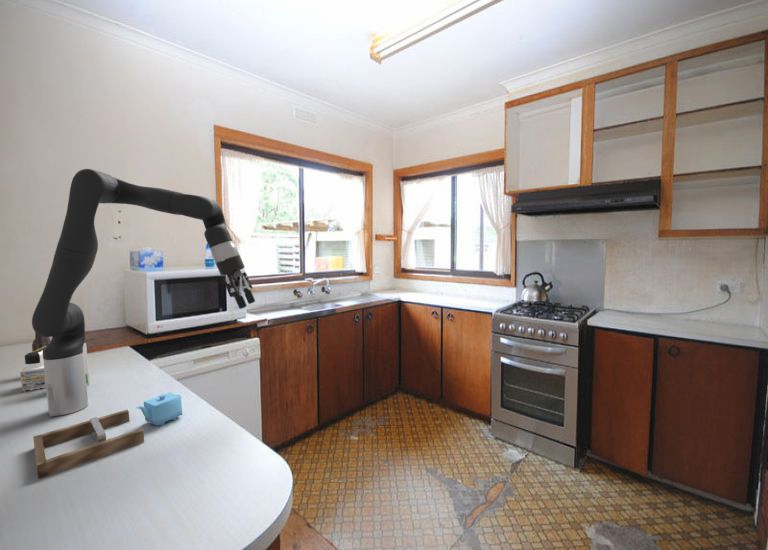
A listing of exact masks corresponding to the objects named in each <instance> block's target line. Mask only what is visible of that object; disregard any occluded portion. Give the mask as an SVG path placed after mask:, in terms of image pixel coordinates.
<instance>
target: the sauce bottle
mask: <svg viewBox="0 0 768 550" xmlns="http://www.w3.org/2000/svg"><path fill="white" fill-rule="evenodd" d="M34 336H35V337H34V339H33V341H32V343H31V352H34V351H42V350H44V348H45V347H46V346H48V345H49V343H50V342H51V340H52V339H50V337H42V336H40V335H38V334H37V333H36V332H35V331H34Z"/></svg>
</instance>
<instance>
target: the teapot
mask: <svg viewBox="0 0 768 550" xmlns="http://www.w3.org/2000/svg"><path fill="white" fill-rule="evenodd" d="M135 409H139V410H140V411H141V412H142V414H143V416H144V420H145V421H146V422H148V423H150V424H153V425H155V426H158V427H161V426H164V425H165V423H166V422H168V421H170V420H171V421H176V420H178V417H180V416H182V415H183V407H182V396H181V395H180V394H176V393H175V394H174V393H172V392H166V393H164V394H163V393H162V394H159V395H158V396H156V397H152V398H150V399H148V400H144V401H143V405H139V406H136V407H135Z"/></svg>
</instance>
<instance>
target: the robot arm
mask: <svg viewBox="0 0 768 550" xmlns="http://www.w3.org/2000/svg"><path fill="white" fill-rule="evenodd" d="M68 195H69V196H68V201H67V202H68V203H67V206H66V207H67V208H66V213H65V217H64V220H63V225H62V229H61V232H60V233H61V234H60V235H59V239H58V242H57V245H56V248H55V251H54V255H53V260H52V262H51V263H52V264H51V267H50V270H49V273H48V276H47V279H46V282H45V286H44V288H43V291H42V294H41V296H40V298H39V300H38V301H37V302H38V303H37V305H36V307H35V310H34V312H33V314H32V317H31V326H32V330H33V331H34V333H35V332H36V333H37V334H38V335H40V336H42V337H49V338H50V337H51V339H50V340H51V342H50V343H49V345H48V346H46V347H45V348H44V350H43V362H44V371H45V380H46V382H45V385H46V388H45V393H46V394H45V395H46V402H47V411H48V416H49V417H50V418H52V417H55V416H63V415H69V414H72V413H76V412H79V411H81V410H84V409H85V408H87V407H88V406H89V401H88V400H89V398H88V389H87V385H86V377H85V367H84V356H83V345H84V343H85V342H86V324H85V322H86V321H85V316H84V313H83V309H81V307H80V306H79V305H77V304H76V303H73V302H71V300H72V297H73V295H74V293H75V291H76V290H77V289H78V287H79V286H80V285H81V283H82V282H83V281H84V280H85V278H86V277H87V276H88V274H89V273H90V272H91V270H92V268H93V266H94V264H95V259H96V257H97V253H98V249H99V241H98V237H97V232H96V227H95V219H96V218H95V217H96V215H97V210H98V207H99V204H118V205H119V204H120V205H121V204H122V205H132V206H138V207H143V208H145V209H149V210H153V211H156V212H161V213H166V214H172V215H174V216H175V215H176V216H184V217H188V218H192V219H196V220H199V221H200V220H201V221H202V223H203V225H204V228H205V230H204V234H203V235H204V239H205V240H206V243H207V245H208V247H209V249H210V250H209V251H210V253H211V256H212V258H213V261H214V263H215V265H216V267H217V270H218V272H219V274H220V276H222V277H223V279H222V281H223V284H224V285H225V288H226V291H227V293H228V296H229V297H230V298H233V299H235V303H236V305H237V306H238V308H239V309H241V310H242V309H244V308H246V307H247V303H248V304H249V305H250V304H253V303H255V302H256V299H255V296H254V295H253V293H252V289H253V285H252V283H251V281H250V279H249V276H248V274H247V272H246V271H245V272H242V271H241V270H244V269H245V265H244V262H243V260H242V258H241V255H240V253H239V251H238V248H237V246H236V245H235V243H234V241H233V239H232V237H231V234H230V232H229V230H228V228H227V223H226V219H225V215H224V212H223V209H222V208H221V205H220V204H219V203H218V202H217V201H216V200H215V199H212V198H209V197H206V196H202V195H196V194H195V195H194V194H190V193H189V194H188V193H183V192H179V191H175V190H171V189H166V188H160V187H152V186H151V187H150V186H142V185H138V184H135V183H134V184H133V183H129V182H127V181H124V180H122V179H119V178H116V177H115V176H112V175H110V174H108V173H104V172H101V171H98V170H95V169H91V168H84V169H83V168H82V169H80V170H78V171H77V172H76V173H75V175H74V176H73V178H72V181H71V183H70V188H69V194H68ZM225 276H226V277H225ZM242 293H243V294H244V296H245V298H244V296H243V294H242ZM245 299H246V300H247V303H246V301H245ZM85 344H86V343H85Z"/></svg>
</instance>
